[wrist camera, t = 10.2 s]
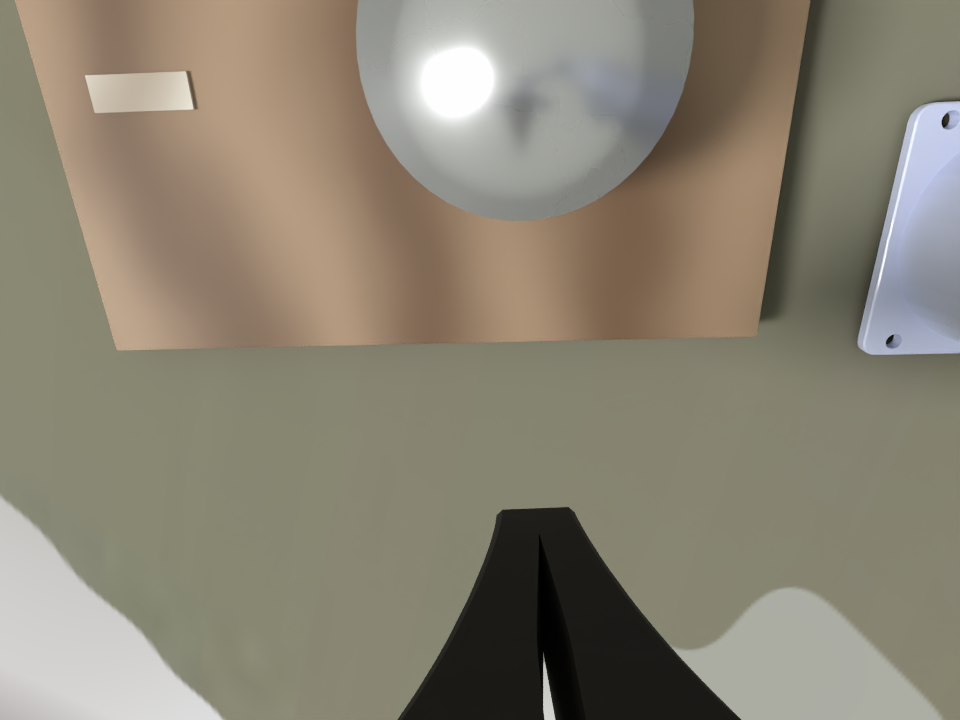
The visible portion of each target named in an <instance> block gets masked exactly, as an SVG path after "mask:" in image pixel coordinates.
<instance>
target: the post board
mask: <svg viewBox="0 0 960 720" xmlns="http://www.w3.org/2000/svg"><path fill="white" fill-rule="evenodd" d="M358 1H359V0H15V2H16V5H17V9H18V12H19V16H20V19H21V23H22V26H23V29H24V33H25V36H26V40H27V43H28V47H29V50H30V53H31V57H32V60H33V64H34V67H35V71H36V74H37V77H38V81H39V84H40V88H41V91H42V95H43V98H44V102H45V105H46V108H47V112H48V115H49V119H50V122H51V126H52V129H53V132H54V136H55V139H56V143H57V146H58V150H59V153H60V156H61V160H62V163H63V167H64V170H65V174H66V177H67V180H68V184H69V187H70V191H71V194H72V198H73V201H74V205H75V208H76V211H77V215H78V218H79V222H80V225H81V229H82V232H83V235H84V239H85V242H86V246H87V249H88V253H89V256H90V259H91V263H92V266H93V270H94V273H95V277H96V280H97V283H98V287H99V290H100V294H101V297H102V301H103V304H104V308H105V311H106V314H107V318H108V321H109V325H110V328H111V332H112V335H113V338H114V342H115V345H116V349H117V350H151V349H198V348H244V347H290V346H337V345H383V344H430V343H476V342H523V341H569V340H616V339H662V338H709V337H755V336H757V331H758V325H759V318H760V312H761V306H762V300H763V293H764V287H765V281H766V275H767V269H768V262H769V256H770V250H771V244H772V237H773V231H774V225H775V219H776V212H777V206H778V200H779V194H780V187H781V181H782V175H783V169H784V163H785V156H786V150H787V144H788V138H789V131H790V125H791V119H792V113H793V106H794V100H795V94H796V88H797V81H798V75H799V69H800V63H801V57H802V50H803V44H804V38H805V32H806V25H807V19H808V13H809V7H810V0H693V9H694V31H693V46H692V52H691V59H690V65H689V70H688V73H687V77H686V81H685V84H684V88H683V92H682V94H681V97H680V99H679V102H678V104H677V107H676V109H675V112H674V114H673V116H672V118H671V120H670V122H669V123H668V125H667V127H666V129H665V131H664V133H663V135H662V136H661V138H660V139H659V141H658V142H657V143H656V145H655V146H654V148H653V149H652V151H651V152H650V154H649V155H648V156H647V157H646V158H645V159H644V160H643V162H642V163H641V164H640V165H639V166H638V167H637V168H636V170H635V171H634V172H632V173H631V174H630V175H629V176H628V177H627V178H626V179H625V180H624V181H622V182H621V183H620V184H619V185H618V186H617V187H615V188H614V189H612V190H611V191H609V192H608V193H607V194H605V195H604V196H602V197H601V198H599V199H597V200H595V201H593V202H591V203H590V204H588V205H586V206H584V207H582V208H579V209H577V210H574V211H571V212H569V213H566V214H563V215H559V216H555V217H551V218H546V219H541V220H530V221H507V220H499V219H493V218H487V217H483V216H480V215H476V214H473V213H470V212H467V211H464V210H462V209H460V208H458V207H456V206H454V205H452V204H449V203H447V202H446V201H444V200H443V199H441V198H440V197H438V196H436V195H435V194H433V193H432V192H430V191H429V190H428V189H427V188H425V187H424V186H423V185H422V184H421V183H419V182H418V181H417V180H416V179H415V178H414V177H413V176H412V175H411V174H410V173H409V172H408V171H407V170H406V169H405V168H404V166H403V165H402V164H401V163H400V162H399V161H398V159H397V158H396V157H395V155H394V154H393V152H392V151H391V150H390V148H389V147H388V145H387V144H386V142H385V140H384V138H383V137H382V135H381V133H380V131H379V129H378V128H377V126H376V124H375V121H374V119H373V116H372V114H371V111H370V109H369V106H368V104H367V101H366V97H365V94H364V90H363V86H362V83H361V79H360V72H359V66H358V59H357V46H356V22H357V8H358Z"/></svg>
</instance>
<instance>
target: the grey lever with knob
mask: <svg viewBox="0 0 960 720" xmlns="http://www.w3.org/2000/svg"><path fill="white" fill-rule="evenodd" d="M693 31H694V9H693V0H359V1H358V8H357V22H356V46H357V59H358V66H359V72H360V79H361V83H362V86H363V90H364V94H365V97H366V101H367V104H368V106H369V109H370V111H371V114H372V116H373V119H374V121H375V124H376V126H377V128H378V129H379V131H380V133H381V135H382V137H383V138H384V140H385V142H386V144H387V145H388V147H389V148H390V150H391V151H392V152H393V154H394V155H395V157H396V158H397V159H398V161H399V162H400V163H401V164H402V165H403V166H404V168H405V169H406V170H407V171H408V172H409V173H410V174H411V175H412V176H413V177H414V178H415V179H416V180H417V181H418V182H419V183H421V184H422V185H423V186H424V187H425V188H427V189H428V190H429V191H430V192H432V193H433V194H435V195H436V196H438V197H440V198H441V199H443V200H444V201H446V202H447V203H449V204H452V205H454V206H456V207H458V208H460V209H462V210H464V211H467V212H470V213H473V214H476V215H480V216H483V217H487V218H493V219H499V220H507V221H530V220H541V219H546V218H551V217H555V216H559V215H563V214H566V213H569V212H571V211H574V210H577V209H579V208H582V207H584V206H586V205H588V204H590V203H591V202H593V201H595V200H597V199H599V198H601V197H602V196H604V195H605V194H607V193H608V192H609V191H611V190H612V189H614V188H615V187H617V186H618V185H619V184H620V183H621V182H622V181H624V180H625V179H626V178H627V177H628V176H629V175H630V174H631V173H632V172H634V171H635V170H636V168H637V167H638V166H639V165H640V164H641V163H642V162H643V160H644V159H645V158H646V157H647V156H648V155H649V154H650V152H651V151H652V149H653V148H654V146H655V145H656V143H657V142H658V141H659V139H660V138H661V136H662V135H663V133H664V131H665V129H666V127H667V125H668V123H669V122H670V120H671V118H672V116H673V114H674V112H675V109H676V107H677V104H678V102H679V99H680V97H681V94H682V92H683V88H684V84H685V81H686V77H687V73H688V70H689V65H690V59H691V52H692V46H693Z"/></svg>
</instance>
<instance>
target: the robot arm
mask: <svg viewBox="0 0 960 720" xmlns="http://www.w3.org/2000/svg"><path fill="white" fill-rule="evenodd" d="M946 113H948V114H949V115H950V121H949V123H948V125H947V126H946V127H945V128H943V126H942V118H943V116H944V115H945V114H946ZM891 335H894V338H893V340H892V342H890V343H889V344H886V340H887V339H888V337H890V336H891ZM858 346H859V348H860V349H862V350H863V351H865V352H866V353H868V354H872V355H895V354H945V353H960V101H957V102H935V103H928V104H924V105H921V106H920V107H918V108H917V109H915V111H914V112H913V113H912V114H911V116H910V118H909V121H908V124H907V128H906V133H905V137H904V141H903V146H902V150H901V154H900V159H899V163H898V167H897V172H896V176H895V180H894V185H893V189H892V193H891V198H890V202H889V206H888V210H887V215H886V219H885V223H884V228H883V232H882V236H881V241H880V245H879V249H878V254H877V258H876V262H875V267H874V271H873V275H872V280H871V284H870V288H869V292H868V297H867V301H866V305H865V310H864V314H863V318H862V323H861V327H860V331H859V336H858ZM543 652H544V658H545V664H546V669H547V675H548V680H549V686H550V691H551V697H552V703H553V708H554V714H555V719H556V720H741V719H740V718H739V717H738V716H737V715H736V714H735V713H734V712H733V711H732V710H731V709H730V708H729V707H728V706H727V705H726V704H725V703H724V702H723V701H721V700H720V698H719V697H717V695H716V694H715V693H714V692H713V691H712V690H710V688H709V687H708V686H707V685H706V684H705V683H704V682H703V681H702V680H701V679H700V678H699V677H698V676H697V675H696V674H695V673H694V672H693V671H692V670H691V669H690V668H689V667H688V666H687V664H686V663H685V662H684V661H682V659H681V658H680V657H679V656H678V655H677V653H676V652H675V651H674V650H673V649H672V648H671V647H670V646H669V644H668V643H667V642H666V641H665V640H664V639H663V638H662V636H661V635H660V634H659V633H658V632H657V631H656V629H655V628H654V627H653V626H652V624H651V623H650V622H649V621H648V620H647V618H646V617H645V616H644V615H643V614H642V612H641V611H640V610H639V609H638V607H637V606H636V605H635V604H634V602H633V601H632V600H631V598H630V597H629V596H628V594H627V593H626V592H625V590H624V589H623V588H622V586H621V585H620V584H619V582H618V581H617V579H616V578H615V577H614V575H613V574H612V573H611V571H610V570H609V568H608V567H607V566H606V564H605V563H604V561H603V560H602V558H601V557H600V555H599V554H598V552H597V551H596V549H595V548H594V546H593V544H592V543H591V541H590V540H589V538H588V536H587V535H586V533H585V531H584V530H583V528H582V526H581V524H580V522H579V521H578V519H577V517H576V515H575V512H573V511H572V510H571V509H570V508H569V507H561V508H536V509H510V510H502V511H501V512H500V513H499V514H498V515H497V517H496V524H495V528H494V532H493V536H492V540H491V543H490V546H489V549H488V552H487V554H486V557H485V560H484V563H483V565H482V568H481V570H480V572H479V575H478V577H477V580H476V582H475V584H474V587H473V589H472V592H471V594H470V596H469V598H468V600H467V602H466V604H465V606H464V608H463V610H462V612H461V614H460V616H459V618H458V620H457V622H456V624H455V626H454V628H453V630H452V632H451V634H450V636H449V638H448V640H447V641H446V643H445V645H444V647H443V649H442V650H441V652H440V654H439V656H438V657H437V659H436V661H435V663H434V664H433V666H432V668H431V669H430V671H429V672H428V674H427V676H426V677H425V679H424V681H423V682H422V684H421V685H420V687H419V689H418V690H417V692H416V693H415V695H414V696H413V698H412V699H411V701H410V702H409V704H408V705H407V707H406V708H405V710H404V711H403V712H402V714H401V715H400V717H399V718H398V720H544V713H543Z"/></svg>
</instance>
